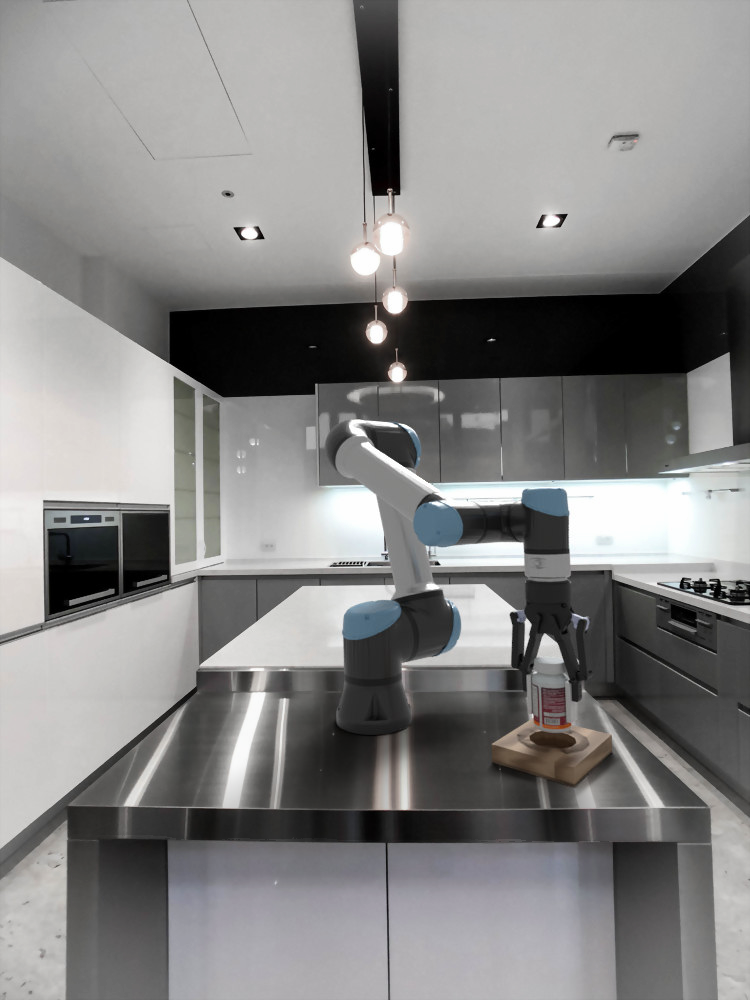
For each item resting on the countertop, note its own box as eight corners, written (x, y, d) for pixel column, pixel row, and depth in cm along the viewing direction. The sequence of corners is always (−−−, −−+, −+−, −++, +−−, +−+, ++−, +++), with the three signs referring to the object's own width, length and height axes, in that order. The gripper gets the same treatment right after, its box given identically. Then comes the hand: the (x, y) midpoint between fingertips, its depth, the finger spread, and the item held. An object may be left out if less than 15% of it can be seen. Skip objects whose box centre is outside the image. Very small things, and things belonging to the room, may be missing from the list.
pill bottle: (579, 728, 96) (577, 660, 96) (555, 737, 93) (552, 666, 93) (549, 718, 101) (547, 653, 101) (525, 726, 98) (523, 659, 98)
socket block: (492, 762, 96) (491, 744, 96) (535, 732, 108) (535, 716, 108) (574, 787, 86) (573, 767, 86) (612, 752, 98) (611, 734, 98)
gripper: (486, 577, 101) (490, 710, 101) (595, 584, 88) (601, 736, 88) (507, 573, 107) (511, 698, 106) (613, 579, 94) (618, 721, 93)
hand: (552, 715), depth 97 cm, fingers closed on pill bottle, 6 cm apart
